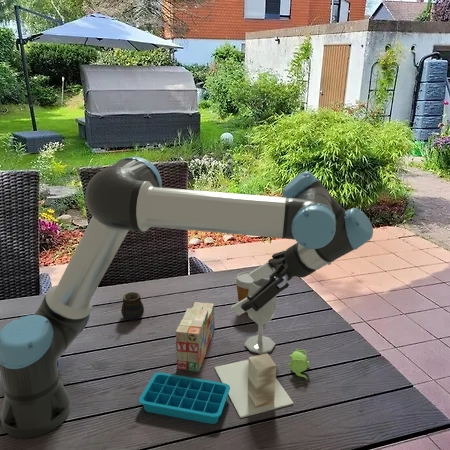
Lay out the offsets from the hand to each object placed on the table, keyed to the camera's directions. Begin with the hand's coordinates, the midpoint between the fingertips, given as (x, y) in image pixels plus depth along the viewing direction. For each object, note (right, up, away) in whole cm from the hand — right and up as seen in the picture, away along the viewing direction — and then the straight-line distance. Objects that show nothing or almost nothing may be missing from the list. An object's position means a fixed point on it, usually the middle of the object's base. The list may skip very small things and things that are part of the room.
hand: (244, 293), depth 112 cm
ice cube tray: (-14, -27, -2) cm, 30 cm away
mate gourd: (-35, -13, +35) cm, 51 cm away
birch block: (+4, -26, -1) cm, 26 cm away
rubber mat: (+2, -24, +4) cm, 25 cm away
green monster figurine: (+15, -23, +9) cm, 29 cm away
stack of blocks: (-13, -19, +19) cm, 30 cm away
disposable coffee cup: (+3, -12, +40) cm, 42 cm away
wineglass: (+6, -19, +20) cm, 28 cm away
